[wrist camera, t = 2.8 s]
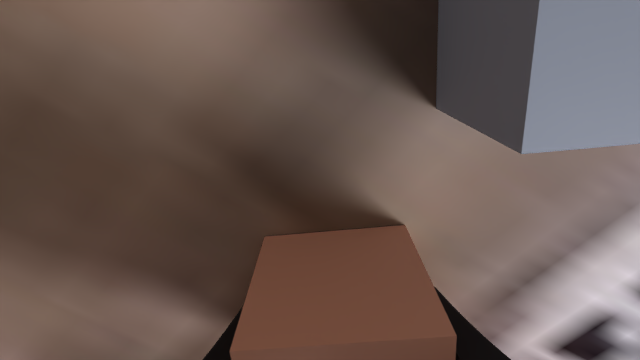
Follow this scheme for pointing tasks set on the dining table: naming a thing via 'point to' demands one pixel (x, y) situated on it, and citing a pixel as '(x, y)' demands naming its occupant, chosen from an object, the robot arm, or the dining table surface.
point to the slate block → (542, 71)
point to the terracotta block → (342, 300)
